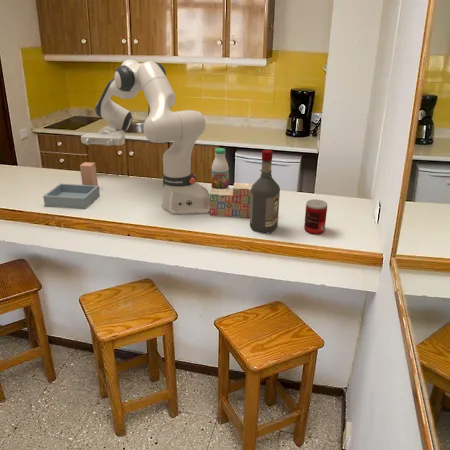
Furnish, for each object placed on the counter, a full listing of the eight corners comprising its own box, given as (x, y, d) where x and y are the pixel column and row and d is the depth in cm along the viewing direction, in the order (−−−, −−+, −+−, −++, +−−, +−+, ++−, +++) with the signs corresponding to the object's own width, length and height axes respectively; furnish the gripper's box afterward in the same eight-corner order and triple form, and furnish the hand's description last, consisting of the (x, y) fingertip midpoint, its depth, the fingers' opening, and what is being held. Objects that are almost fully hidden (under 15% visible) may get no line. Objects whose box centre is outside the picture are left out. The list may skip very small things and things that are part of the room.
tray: (99, 195, 201) (98, 185, 199) (85, 208, 188) (84, 198, 186) (61, 192, 203) (60, 183, 201) (44, 206, 190) (43, 196, 188)
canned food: (321, 225, 175) (324, 199, 170) (326, 234, 168) (329, 207, 163) (302, 225, 175) (304, 199, 170) (306, 235, 167) (308, 207, 163)
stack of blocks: (209, 215, 182) (209, 186, 176) (211, 209, 187) (211, 181, 182) (262, 218, 180) (264, 189, 174) (263, 212, 186) (264, 184, 180)
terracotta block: (98, 187, 210) (95, 162, 204) (93, 191, 205) (90, 166, 200) (87, 187, 210) (84, 162, 205) (83, 190, 206) (79, 165, 201)
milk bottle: (209, 189, 208) (209, 147, 199) (225, 188, 210) (226, 146, 201) (214, 196, 201) (214, 152, 193) (230, 194, 203) (231, 150, 195)
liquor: (247, 229, 171) (249, 152, 158) (258, 220, 178) (261, 146, 165) (269, 235, 167) (273, 156, 154) (279, 226, 174) (284, 150, 161)
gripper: (86, 128, 223) (74, 135, 211) (126, 130, 220) (116, 137, 208) (88, 141, 226) (76, 149, 213) (128, 143, 223) (118, 151, 211)
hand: (96, 143), depth 211 cm, fingers open, 8 cm apart
